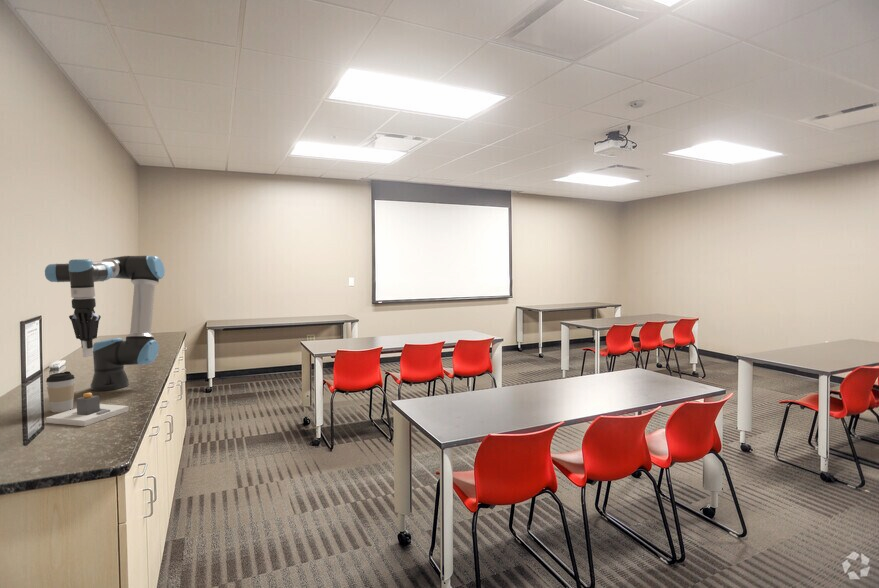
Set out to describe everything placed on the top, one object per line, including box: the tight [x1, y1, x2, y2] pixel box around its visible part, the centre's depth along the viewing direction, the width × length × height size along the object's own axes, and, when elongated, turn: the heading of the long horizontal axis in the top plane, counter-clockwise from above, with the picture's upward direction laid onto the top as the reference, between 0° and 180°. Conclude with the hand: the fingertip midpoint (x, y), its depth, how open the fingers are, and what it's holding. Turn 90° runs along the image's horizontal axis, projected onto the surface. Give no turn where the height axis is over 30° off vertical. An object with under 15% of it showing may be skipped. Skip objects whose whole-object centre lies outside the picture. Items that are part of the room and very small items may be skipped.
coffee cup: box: [45, 370, 75, 413], centre depth 187 cm, size 9×9×15 cm
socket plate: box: [45, 403, 130, 427], centre depth 178 cm, size 18×18×3 cm
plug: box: [75, 392, 101, 415], centre depth 178 cm, size 5×5×8 cm
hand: (87, 356), depth 186 cm, fingers closed
